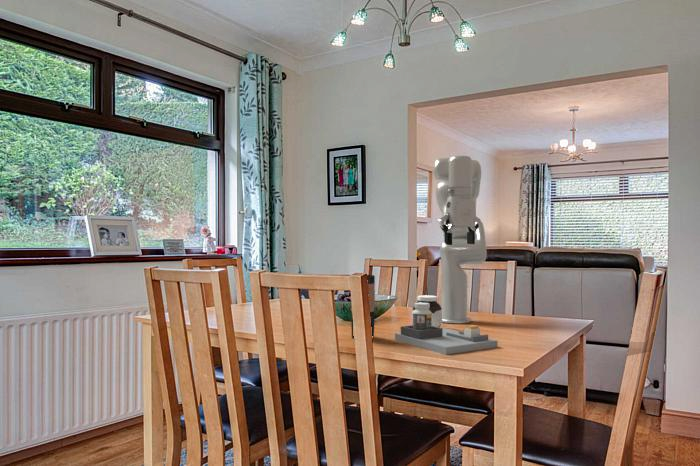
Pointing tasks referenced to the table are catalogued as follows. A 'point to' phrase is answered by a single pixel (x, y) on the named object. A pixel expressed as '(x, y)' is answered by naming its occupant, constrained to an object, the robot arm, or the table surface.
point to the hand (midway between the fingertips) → (459, 244)
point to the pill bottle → (422, 316)
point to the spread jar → (431, 309)
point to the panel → (444, 340)
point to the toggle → (471, 331)
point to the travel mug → (371, 301)
